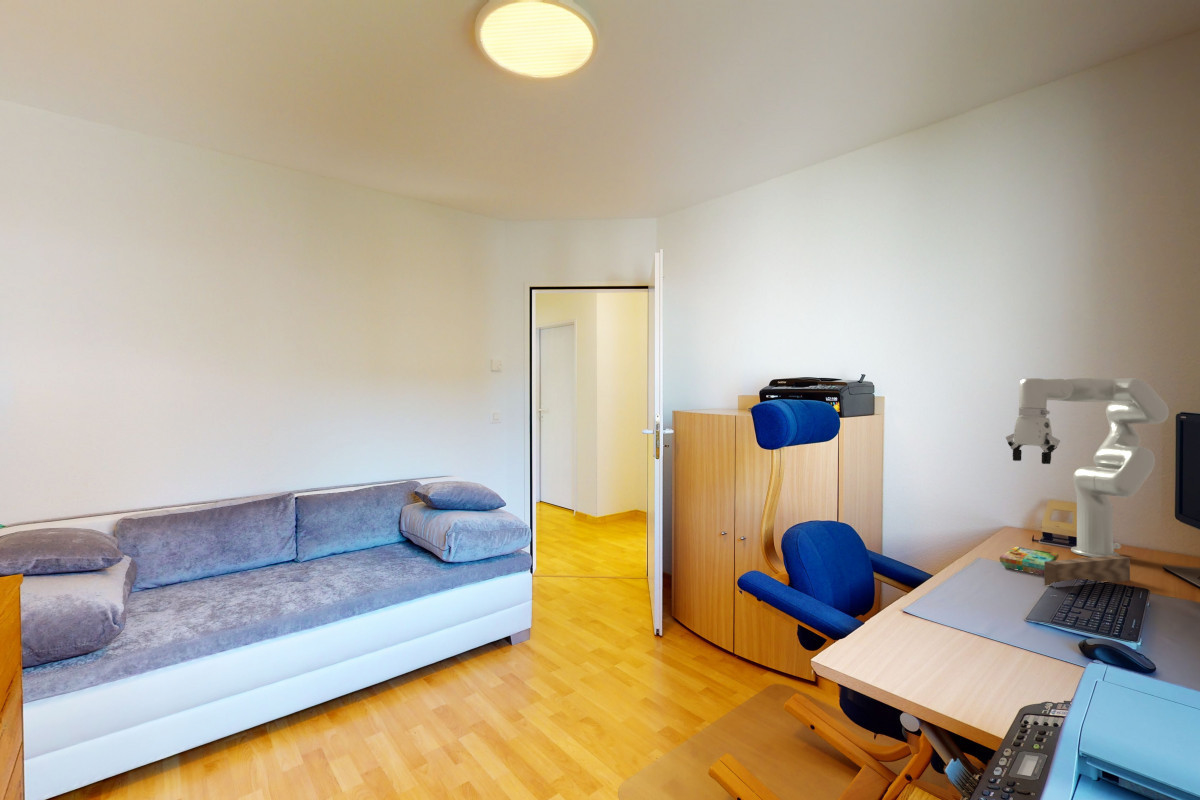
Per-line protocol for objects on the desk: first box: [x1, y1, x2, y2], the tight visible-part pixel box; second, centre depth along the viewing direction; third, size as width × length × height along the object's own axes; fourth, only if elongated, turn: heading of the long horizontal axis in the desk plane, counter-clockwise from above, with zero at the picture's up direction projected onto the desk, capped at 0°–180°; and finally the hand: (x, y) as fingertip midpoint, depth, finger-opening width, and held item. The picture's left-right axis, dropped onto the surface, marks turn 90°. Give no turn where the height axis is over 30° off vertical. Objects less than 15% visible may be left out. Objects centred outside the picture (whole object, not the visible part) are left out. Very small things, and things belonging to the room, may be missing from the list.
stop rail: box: [1043, 554, 1131, 586], centre depth 159 cm, size 30×3×7 cm, turn 104°
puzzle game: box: [999, 546, 1060, 575], centre depth 175 cm, size 12×5×20 cm
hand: (1031, 462), depth 184 cm, fingers open, 9 cm apart
